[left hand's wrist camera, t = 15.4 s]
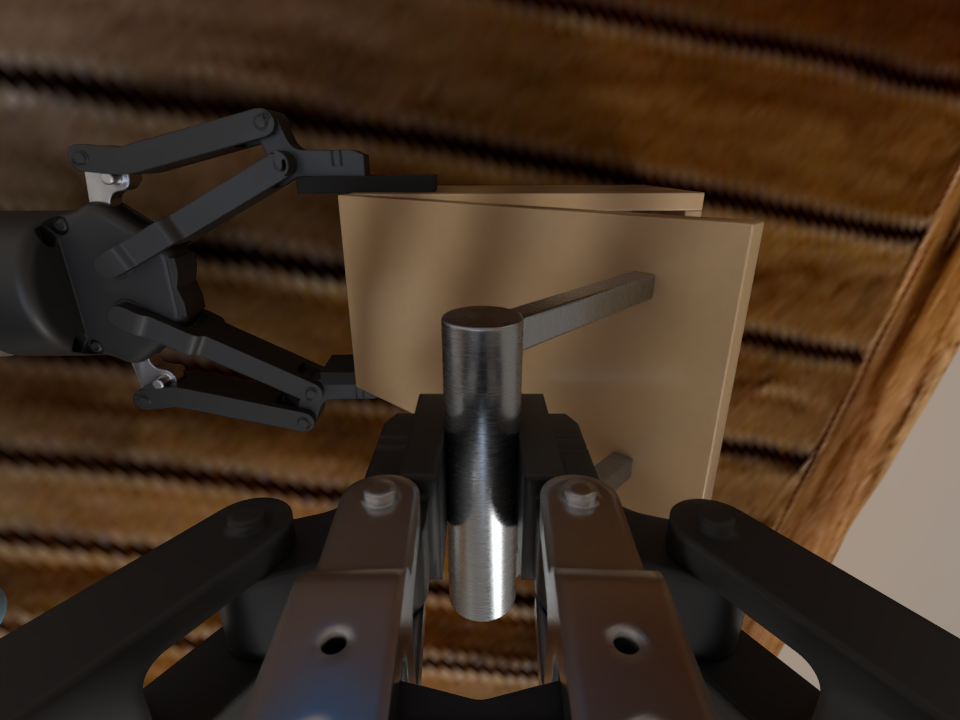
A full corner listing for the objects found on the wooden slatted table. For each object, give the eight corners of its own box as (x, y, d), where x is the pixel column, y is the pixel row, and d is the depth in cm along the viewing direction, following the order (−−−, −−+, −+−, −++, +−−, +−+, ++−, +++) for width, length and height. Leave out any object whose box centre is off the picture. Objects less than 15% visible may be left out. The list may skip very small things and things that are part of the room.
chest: (643, 184, 32) (704, 192, 24) (628, 326, 35) (677, 376, 27) (378, 185, 32) (347, 193, 23) (388, 329, 35) (364, 380, 27)
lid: (765, 220, 12) (582, 268, 7) (704, 534, 16) (550, 736, 10) (353, 194, 23) (155, 204, 18) (369, 381, 27) (207, 439, 21)
